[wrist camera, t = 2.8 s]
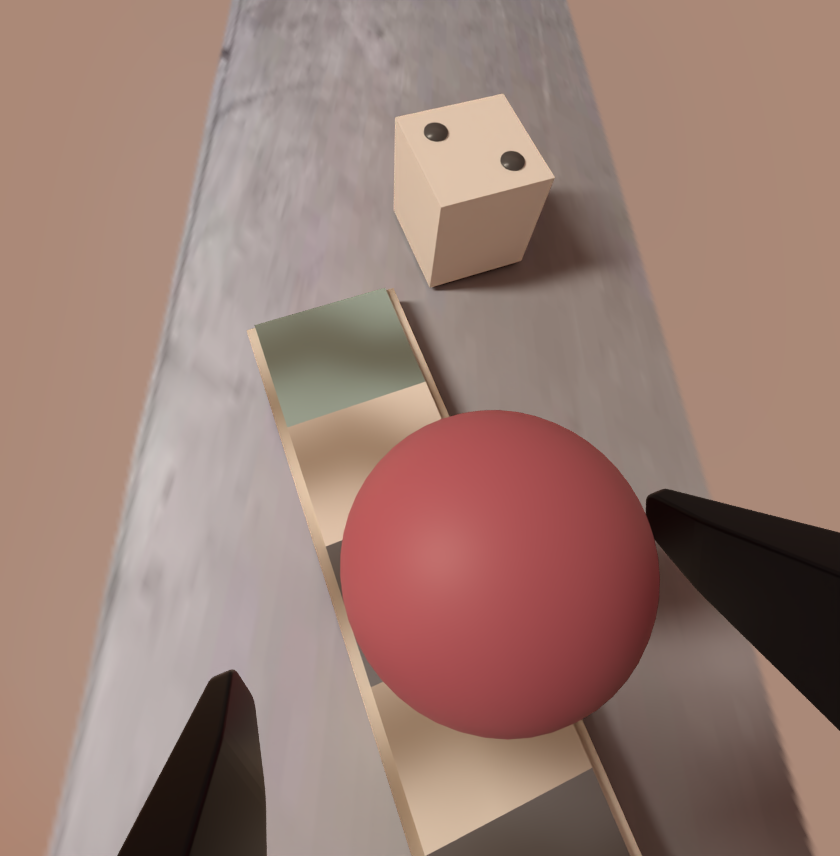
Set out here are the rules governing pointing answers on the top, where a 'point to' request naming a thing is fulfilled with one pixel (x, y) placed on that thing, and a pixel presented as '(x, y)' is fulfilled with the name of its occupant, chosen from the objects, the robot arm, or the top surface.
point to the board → (388, 715)
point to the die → (467, 187)
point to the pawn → (499, 574)
